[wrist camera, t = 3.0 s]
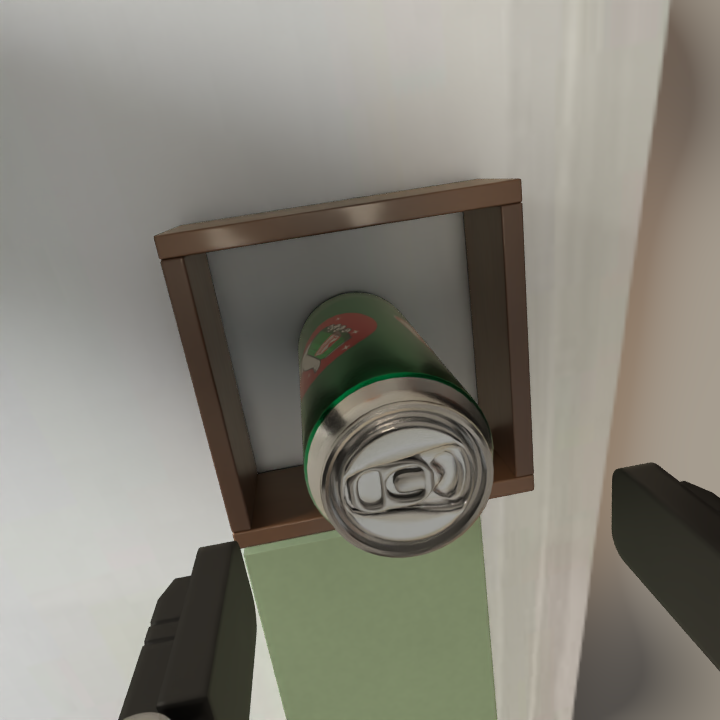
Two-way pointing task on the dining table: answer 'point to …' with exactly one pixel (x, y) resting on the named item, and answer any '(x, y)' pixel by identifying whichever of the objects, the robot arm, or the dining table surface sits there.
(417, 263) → the dining table surface
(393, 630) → the mat
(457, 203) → the crate
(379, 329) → the soda can
